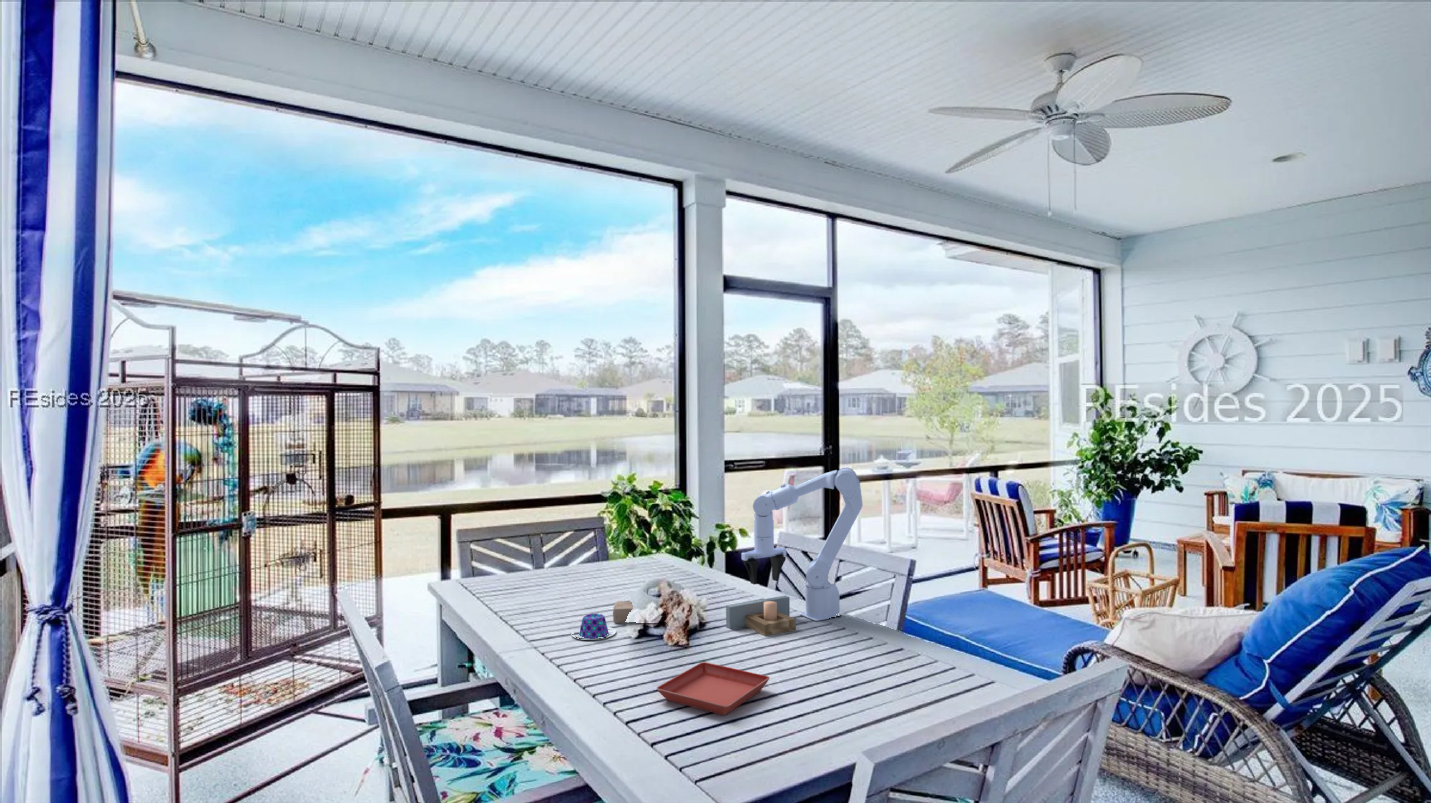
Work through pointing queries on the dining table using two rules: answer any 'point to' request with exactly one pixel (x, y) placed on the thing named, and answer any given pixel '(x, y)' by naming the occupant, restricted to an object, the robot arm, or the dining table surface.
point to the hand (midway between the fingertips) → (764, 582)
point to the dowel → (770, 610)
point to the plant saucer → (713, 687)
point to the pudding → (594, 627)
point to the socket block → (770, 624)
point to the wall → (753, 610)
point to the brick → (621, 611)
